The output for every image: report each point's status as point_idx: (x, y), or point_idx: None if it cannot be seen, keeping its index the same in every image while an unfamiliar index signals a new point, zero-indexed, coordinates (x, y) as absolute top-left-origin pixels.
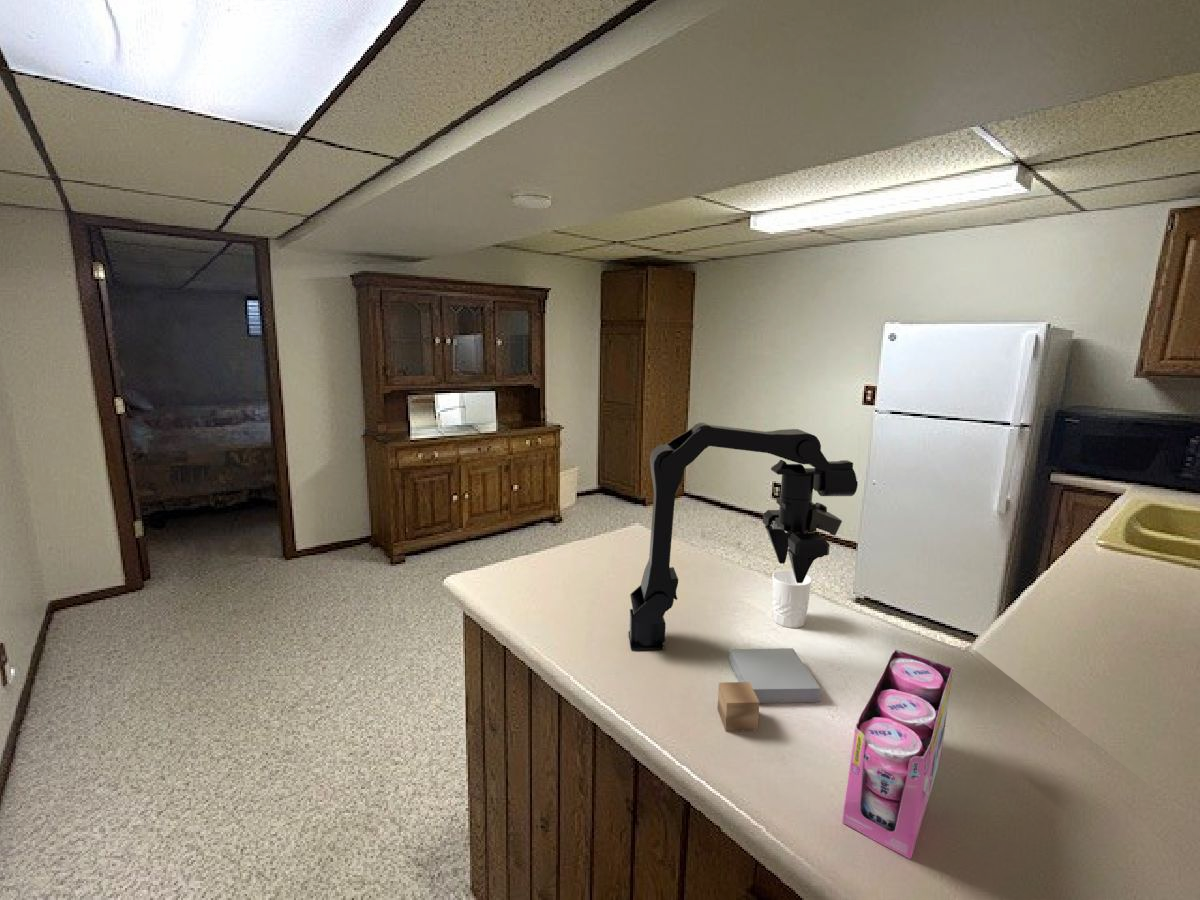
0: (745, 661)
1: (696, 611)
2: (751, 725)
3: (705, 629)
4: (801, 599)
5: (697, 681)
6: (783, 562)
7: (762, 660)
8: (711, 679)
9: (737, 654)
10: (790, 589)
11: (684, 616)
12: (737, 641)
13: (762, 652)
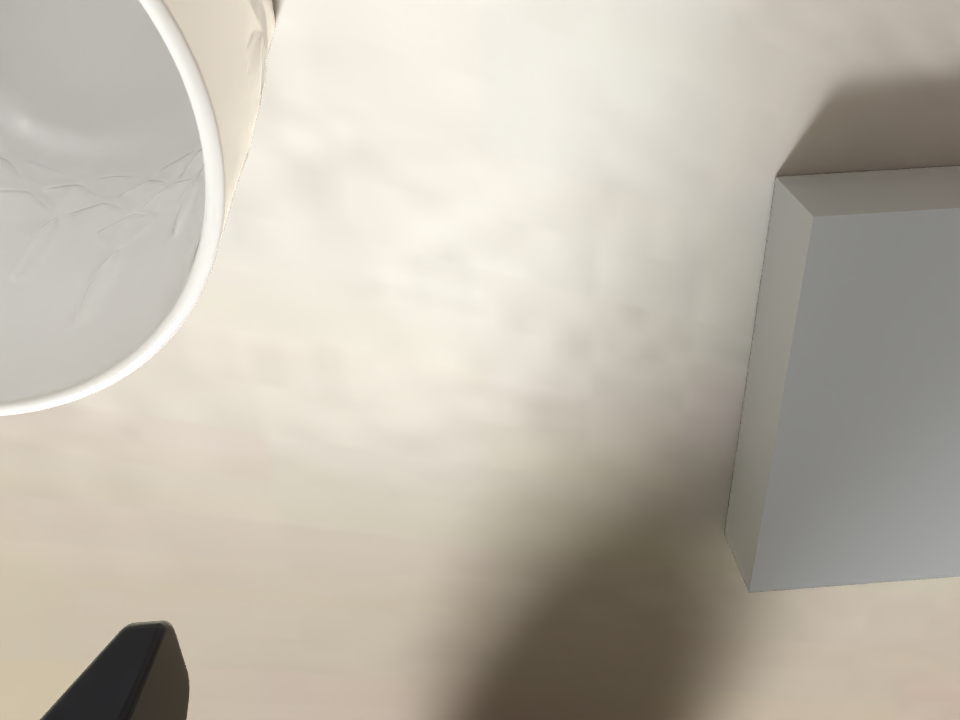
0: (897, 538)
1: None
2: None
3: (368, 601)
4: (233, 9)
5: (866, 667)
6: (171, 651)
7: (913, 452)
8: (865, 619)
9: (815, 564)
10: (226, 219)
11: (217, 683)
12: (509, 461)
13: (822, 432)
